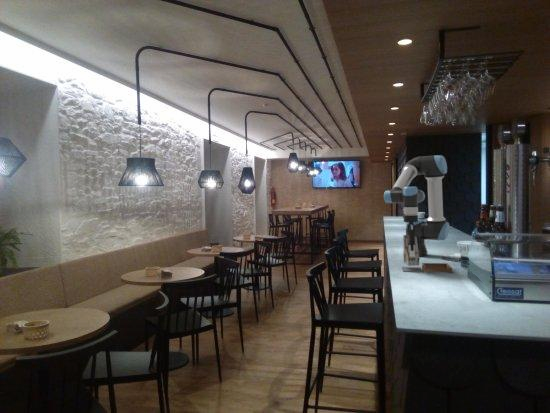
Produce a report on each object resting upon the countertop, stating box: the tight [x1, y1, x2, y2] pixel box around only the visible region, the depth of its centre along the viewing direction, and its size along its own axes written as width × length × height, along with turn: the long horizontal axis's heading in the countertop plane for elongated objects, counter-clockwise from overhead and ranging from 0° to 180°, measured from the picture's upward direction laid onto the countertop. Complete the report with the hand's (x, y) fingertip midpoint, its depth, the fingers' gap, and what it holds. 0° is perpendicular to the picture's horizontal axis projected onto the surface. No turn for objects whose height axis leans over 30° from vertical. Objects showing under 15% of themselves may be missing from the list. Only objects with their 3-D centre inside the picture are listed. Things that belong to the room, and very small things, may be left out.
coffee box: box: [402, 234, 420, 267], centre depth 236 cm, size 9×6×16 cm
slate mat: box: [401, 266, 423, 273], centre depth 237 cm, size 12×10×1 cm
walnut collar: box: [421, 262, 453, 274], centre depth 234 cm, size 14×14×2 cm
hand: (411, 255), depth 236 cm, fingers closed on coffee box, 10 cm apart
